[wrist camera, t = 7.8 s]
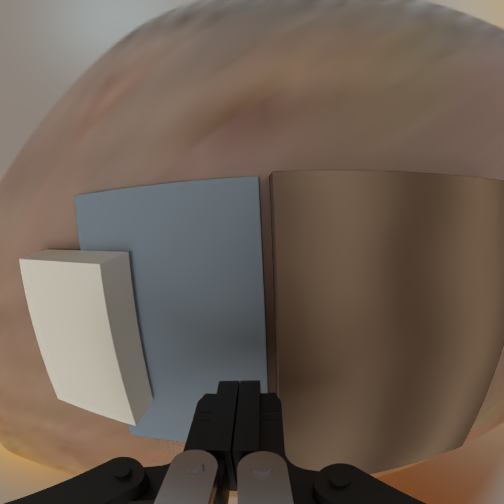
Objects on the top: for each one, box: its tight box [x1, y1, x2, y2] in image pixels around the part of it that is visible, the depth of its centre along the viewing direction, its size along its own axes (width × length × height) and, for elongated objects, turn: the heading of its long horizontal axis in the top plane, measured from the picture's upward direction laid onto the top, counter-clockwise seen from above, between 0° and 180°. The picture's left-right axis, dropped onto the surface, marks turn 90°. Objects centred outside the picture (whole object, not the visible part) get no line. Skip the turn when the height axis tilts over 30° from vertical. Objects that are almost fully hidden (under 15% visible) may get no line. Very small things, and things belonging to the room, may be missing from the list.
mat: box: [75, 176, 268, 442], centre depth 15 cm, size 10×16×1 cm, turn 3°
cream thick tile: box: [19, 249, 153, 426], centre depth 14 cm, size 6×9×2 cm, turn 1°
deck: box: [269, 170, 504, 474], centre depth 13 cm, size 12×16×4 cm
